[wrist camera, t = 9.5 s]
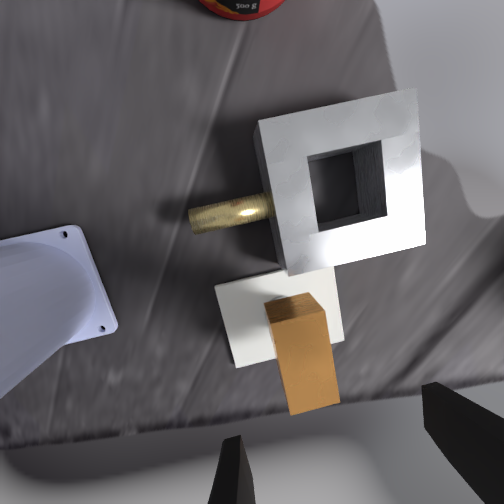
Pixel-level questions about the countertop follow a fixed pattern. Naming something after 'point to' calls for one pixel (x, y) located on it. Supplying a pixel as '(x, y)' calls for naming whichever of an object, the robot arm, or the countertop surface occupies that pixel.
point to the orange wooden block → (302, 351)
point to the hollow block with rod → (366, 173)
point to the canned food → (242, 8)
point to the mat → (252, 309)
